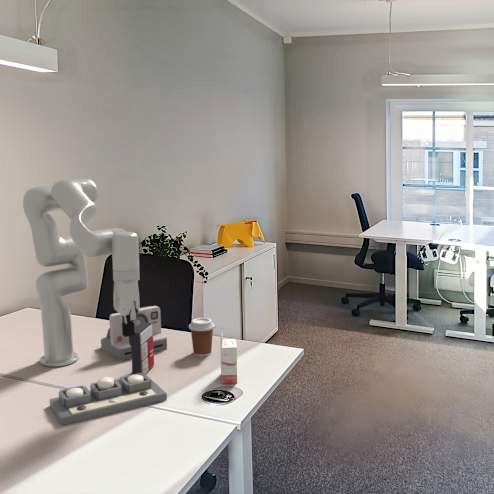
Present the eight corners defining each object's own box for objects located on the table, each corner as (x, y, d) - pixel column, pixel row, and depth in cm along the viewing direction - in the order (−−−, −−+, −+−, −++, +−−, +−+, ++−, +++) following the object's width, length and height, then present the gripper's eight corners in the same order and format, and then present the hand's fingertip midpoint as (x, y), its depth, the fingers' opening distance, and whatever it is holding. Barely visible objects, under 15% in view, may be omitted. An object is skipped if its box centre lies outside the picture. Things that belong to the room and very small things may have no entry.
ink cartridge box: (238, 383, 183) (237, 338, 181) (222, 384, 183) (221, 338, 180) (236, 372, 192) (235, 329, 189) (220, 373, 191) (219, 329, 189)
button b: (95, 386, 173) (95, 379, 172) (111, 383, 175) (110, 375, 175) (100, 392, 169) (100, 384, 168) (116, 388, 171) (115, 381, 171)
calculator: (143, 378, 188) (141, 333, 185) (130, 377, 189) (128, 332, 186) (155, 365, 199) (153, 322, 196) (143, 365, 200) (141, 322, 197)
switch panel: (49, 405, 169) (48, 390, 168) (148, 383, 184) (148, 369, 184) (62, 425, 157) (60, 409, 157) (166, 399, 172) (166, 385, 172)
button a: (64, 398, 168) (64, 390, 168) (81, 394, 171) (80, 386, 170) (69, 404, 165) (68, 395, 164) (85, 400, 167) (85, 392, 166)
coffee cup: (186, 350, 213) (185, 318, 211) (210, 347, 216) (210, 315, 214) (193, 359, 204) (192, 325, 202) (218, 355, 207) (218, 322, 205)
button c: (125, 384, 177) (125, 376, 177) (140, 381, 180) (140, 373, 179) (131, 389, 174) (130, 382, 173) (145, 386, 176) (145, 378, 175)
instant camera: (112, 362, 202) (110, 320, 200) (97, 345, 220) (95, 306, 218) (171, 352, 212) (169, 311, 209) (152, 336, 230) (151, 298, 227)
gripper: (105, 271, 176) (107, 330, 179) (122, 282, 163) (124, 345, 166) (129, 268, 179) (131, 326, 183) (148, 278, 167) (150, 340, 170)
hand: (128, 335), depth 175 cm, fingers closed
